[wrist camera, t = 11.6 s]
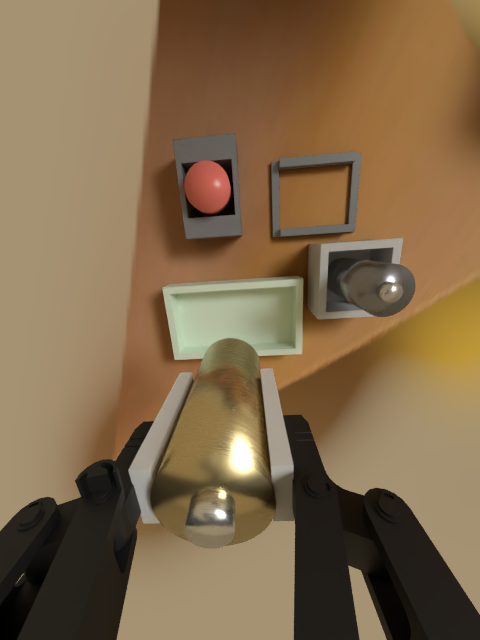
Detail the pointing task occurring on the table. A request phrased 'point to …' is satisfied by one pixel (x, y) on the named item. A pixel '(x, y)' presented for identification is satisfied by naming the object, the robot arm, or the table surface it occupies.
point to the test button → (207, 187)
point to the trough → (236, 315)
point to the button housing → (225, 155)
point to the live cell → (218, 454)
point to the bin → (319, 258)
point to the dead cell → (372, 285)
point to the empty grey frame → (307, 163)
